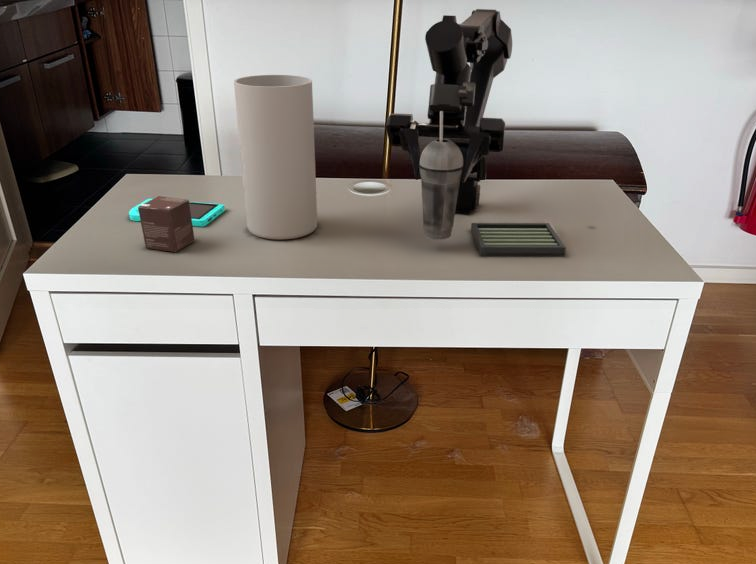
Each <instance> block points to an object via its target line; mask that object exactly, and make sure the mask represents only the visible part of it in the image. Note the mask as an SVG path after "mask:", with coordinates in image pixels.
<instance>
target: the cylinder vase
mask: <svg viewBox="0 0 756 564" xmlns="http://www.w3.org/2000/svg"><path fill="white" fill-rule="evenodd" d="M233 88H234V97H235V98H234V99H235V100H234V101H235V109H236V119H237V120H236V121H237V130H238V142H239V152H240V164H241V174H242V185H243V197H244V207H245V208H244V209H245V218H246V227H247V230H248V231H249V232H250V233H251V234H252V235H254V236H255V237H259V238H262V239H266V240H276V241H277V240H278V241H280V240H282V241H283V240H291V239H299V238H302V237H305V236H308V235H311V233H313V232H314V231H315V230H316V229H317V227H318V204H317V202H318V201H317V178H316V177H317V176H316V173H317V172H316V151H315V150H316V149H315V148H316V147H315V123H314V100H313V99H314V97H313V80H312V79H311V78H310V77H307V76H301V75H292V74H258V75H247V76H241V77H238V78H235V79H233Z"/></svg>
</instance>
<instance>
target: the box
mask: <svg viewBox="0 0 756 564" xmlns="http://www.w3.org/2000/svg"><path fill="white" fill-rule="evenodd" d="M151 199H152V200H150V201H148V202H146V203H144V204H142V205H140V206H139V207H138V210H139V216H140V220H141V221H140V225H141V230H142V235H143V240H144V241H143V242H144V246H145V249H150V250H159V251H167V252H173V253H178V251H180V250H182V249H184V248H185V247H187V246H188V245H190V244H191V243H193V242H194V241H195V240H196V239H195V234H194V226H193V225H192V219H191V212H190V206H189V202H190V200H189V199H186V198H178V197H177V198H176V197H169V196H160V195H158V196H156V197H154V198H151Z"/></svg>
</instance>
